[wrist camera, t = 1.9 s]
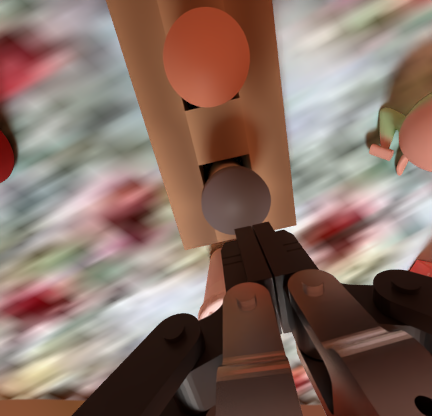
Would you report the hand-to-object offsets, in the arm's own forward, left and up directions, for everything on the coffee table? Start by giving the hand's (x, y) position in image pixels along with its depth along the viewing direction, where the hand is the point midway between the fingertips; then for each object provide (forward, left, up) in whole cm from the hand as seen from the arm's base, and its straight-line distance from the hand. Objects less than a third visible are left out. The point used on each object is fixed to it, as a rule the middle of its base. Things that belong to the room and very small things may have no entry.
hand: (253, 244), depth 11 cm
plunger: (0, 0, -12) cm, 12 cm away
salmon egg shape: (0, +8, -12) cm, 15 cm away
